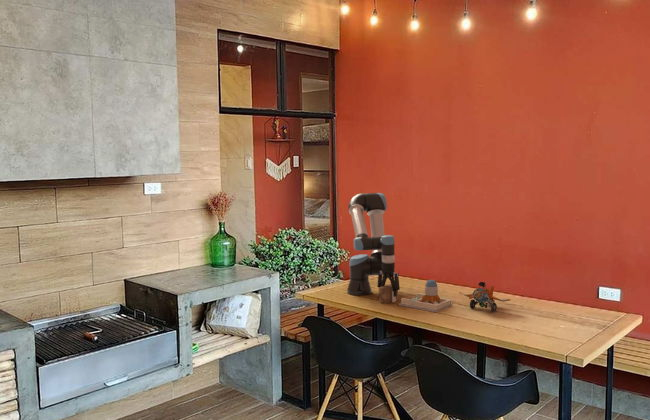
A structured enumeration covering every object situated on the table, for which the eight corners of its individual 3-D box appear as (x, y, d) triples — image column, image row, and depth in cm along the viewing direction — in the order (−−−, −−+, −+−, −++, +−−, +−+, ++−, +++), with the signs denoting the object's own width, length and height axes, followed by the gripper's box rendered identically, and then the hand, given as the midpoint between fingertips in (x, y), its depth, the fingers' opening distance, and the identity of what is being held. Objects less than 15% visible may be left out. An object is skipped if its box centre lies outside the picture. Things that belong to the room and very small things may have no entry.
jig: (398, 305, 332) (398, 298, 332) (416, 299, 345) (416, 292, 345) (435, 312, 316) (435, 305, 315) (452, 305, 329) (452, 298, 328)
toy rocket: (439, 303, 333) (443, 279, 329) (440, 311, 323) (444, 287, 318) (421, 301, 334) (425, 276, 329) (421, 309, 323) (425, 284, 319)
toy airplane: (448, 304, 317) (452, 277, 320) (466, 308, 335) (469, 282, 337) (501, 312, 299) (504, 283, 301) (516, 316, 317) (519, 288, 319)
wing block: (378, 302, 339) (378, 287, 338) (391, 298, 348) (391, 283, 347) (385, 304, 336) (385, 288, 335) (398, 299, 344) (398, 284, 344)
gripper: (370, 261, 344) (371, 299, 346) (398, 264, 330) (398, 304, 332) (378, 259, 349) (379, 297, 351) (406, 262, 335) (406, 302, 338)
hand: (388, 300), depth 342 cm, fingers open, 7 cm apart
